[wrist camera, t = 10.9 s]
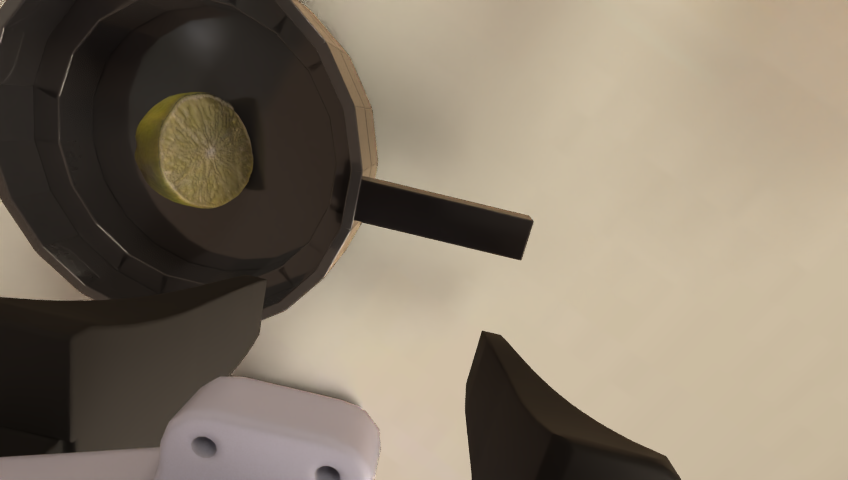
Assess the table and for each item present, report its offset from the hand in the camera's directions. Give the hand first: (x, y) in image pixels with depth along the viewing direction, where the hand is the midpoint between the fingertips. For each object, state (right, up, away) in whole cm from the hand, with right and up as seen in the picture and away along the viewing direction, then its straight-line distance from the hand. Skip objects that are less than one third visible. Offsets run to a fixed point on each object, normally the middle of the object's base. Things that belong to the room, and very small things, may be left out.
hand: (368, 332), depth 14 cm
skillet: (-8, +8, +8) cm, 14 cm away
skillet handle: (+2, +4, +5) cm, 7 cm away
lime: (-8, +8, +8) cm, 14 cm away
